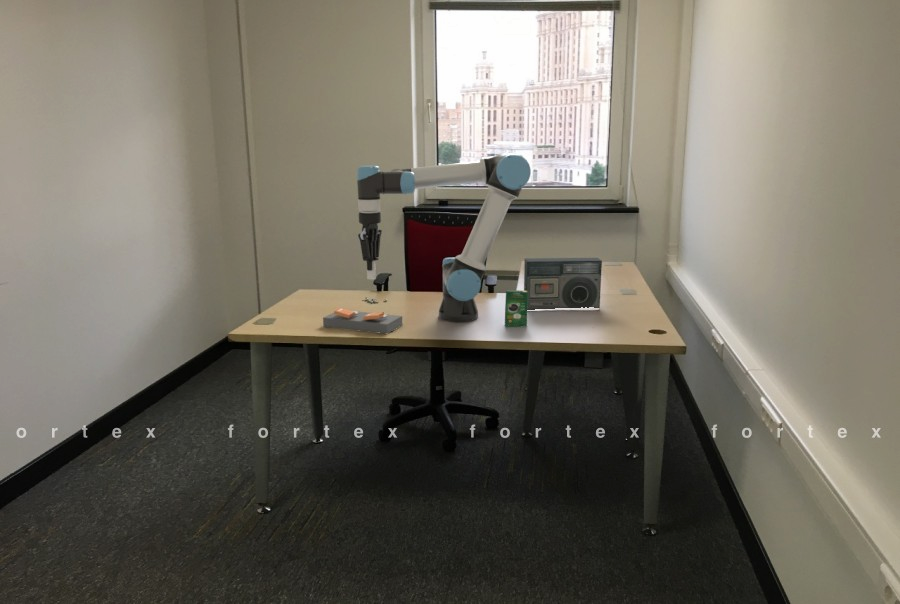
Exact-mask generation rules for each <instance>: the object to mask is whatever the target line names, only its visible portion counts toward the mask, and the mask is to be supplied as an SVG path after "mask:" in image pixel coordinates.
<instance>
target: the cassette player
mask: <svg viewBox="0 0 900 604" xmlns="http://www.w3.org/2000/svg"><path fill="white" fill-rule="evenodd" d="M602 265H603V261H602V260H601V259H600V258H599V257H539V258H538V257H536V258H534V257H533V258H532V257H531V258H530V257H529V258H527V257H526V258H524V269H523V270H524V272H523V273H524V274H523V275H524V276H523V291H528V308H527V310H535V309H555V308H581V307H583V308H585V307H587V308H589V307H594V308H600V309H601V305H600V304H601V290H602V289H601V285H602Z"/></svg>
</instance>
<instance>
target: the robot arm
mask: <svg viewBox="0 0 900 604" xmlns="http://www.w3.org/2000/svg"><path fill="white" fill-rule="evenodd" d="M356 172H357V176H356V179H357V180H356V181H357V183H356V184H357V205H358V211H359V213H358V222H359V224H361V225H362V227H361V233H358V236H357V237H358V239H359V243H360V249H361V254H362V255H361V256H362V260H363V261H364V262H366V278H367V280H376V279H377V269H376V267H377V265H376V261H379V257H380V250H381V249H380V248H381V247H380V245H381V236H382V232H383V231H382V229H379V226H378V225H379V224H380V223H381V222H382V219H381V212H380V211H381V195H407V194H414V192H415V190H419V189H428V188H438V187H446V186H456V185H457V186H458V185H466V184H476V183H482V184H483V185H486V186H487V188H488V192H487V194H486V196H485V197H486V198H485V199H484V202H483V204H482V206H481V208H480V210H479V214H478V215H477V218H476V219H475V221H474V222H475V223H474V225H473V227H472V230H471V232H470V234H469V236H468V238H467V241H466V244H465V246H464V248H463V250H462V252H461V254H458V255H456V256H455V257H445V258H443V260H442V265H441V266H442V299H441V302H440V305H439V308H438V318H439V319H440V320H442V321H445V322H453V323H457V322H459V323H462V322H463V323H464V322H470V321H474V320H477V319H478V318H479V309H478V307H477V304H476V300H475V297H476V296H478V294H479V293H480V291H481V286H482V279H483V277H484V274H485V273H486V271H487V270H486V269H487V267H486V266H485V262H486V259H487V258H488V255H489V253H490V251H491V248H492V246H493V244H494V241H495V239H496V237H497V235H498V233H499V230H500V228H501V225H502V224H503V221H504V219H505V217H506V214H507V212H508V210H509V207H510V205H511V204H512V202H513V201H514V200H516V199H519V196H520V194H521V191H522V189H523V187H525V185H527V184H528V183H529V180H530V178H531V166H530V163H529V162H528V160H527V159H526V158H525V157H524V156H522V155H521V154H519V153H515V152H504V153H499V154H496V155H493V156H487V157H486V156H485V157H481V158H480V159H479V160H476V161H475V160H474V161H467V162H458V163H448V164H438V165H431V166H420V167H411V168H401V169H399V168H395V169H392V170H390V171H381V170H380V166H378V165H360V166H358V168H357V170H356Z"/></svg>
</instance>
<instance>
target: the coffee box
mask: <svg viewBox="0 0 900 604" xmlns="http://www.w3.org/2000/svg"><path fill="white" fill-rule="evenodd" d="M504 307H505V308H504V327H510V326H511V327H521V326H523V327H528V311H527V308H528V291H524V290H511V289H509V290H508V289H506V290H505V306H504Z"/></svg>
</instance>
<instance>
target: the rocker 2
mask: <svg viewBox="0 0 900 604" xmlns="http://www.w3.org/2000/svg"><path fill="white" fill-rule="evenodd" d="M369 313H370V314H367V315H365V316H363V317H364V320H367V319H378V318H381V317H382V316H384V314H385V312H369Z"/></svg>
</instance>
